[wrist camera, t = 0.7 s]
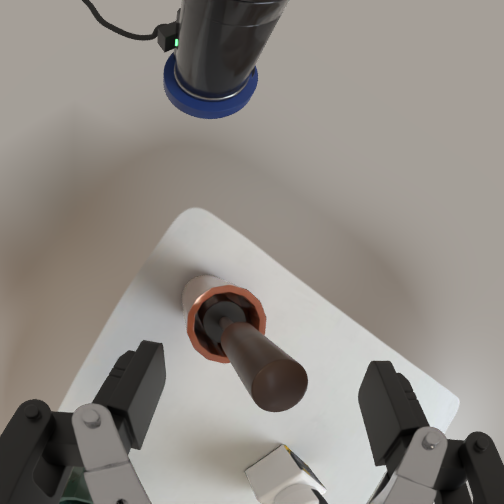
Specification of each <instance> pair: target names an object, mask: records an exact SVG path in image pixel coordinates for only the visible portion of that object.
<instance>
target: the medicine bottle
mask: <svg viewBox="0 0 504 504" xmlns="http://www.w3.org/2000/svg"><path fill="white" fill-rule="evenodd" d="M245 473H246V476H247V478H248V480H249V483H250V485H251V487H252V490H253V492H254V494H255V496H256V498H257V500H258V501H259V502H260V503H262V504H328V503H327V502H326V500H325V499H324V498H323V497H322V494H324V493H325V492H326V488H325V487H324V486H323V485H322V483H321V482H320V481H319V480H318V478H317V477H316V476H315V474H314V473H313V472H312V471H311V469H310V468H309V467H308V465H306V464H305V463H304V462H303V461H302V460H301V459H300V458H299V457H298V456H296V455H295V454H294V453H293V452H292V451H291V450H290V449H289V448H288V447H287V446H286V445H281V446H280V447H279V448H277V449H276V450H274V451H273V452H272V453H270V454H269V455H267V456H266V457H265V458H263V459H262V460H260V461H259V462H257V463H256V464H254V465H253V466H251V467H250V468H248V469H247V470H246V471H245Z"/></svg>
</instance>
